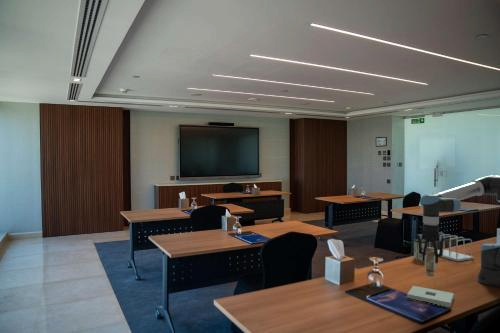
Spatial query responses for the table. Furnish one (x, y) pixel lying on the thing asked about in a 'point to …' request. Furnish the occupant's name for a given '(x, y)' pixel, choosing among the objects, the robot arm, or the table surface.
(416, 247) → the coffee can
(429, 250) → the peg
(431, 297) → the board
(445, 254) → the file sorter
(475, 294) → the table surface
